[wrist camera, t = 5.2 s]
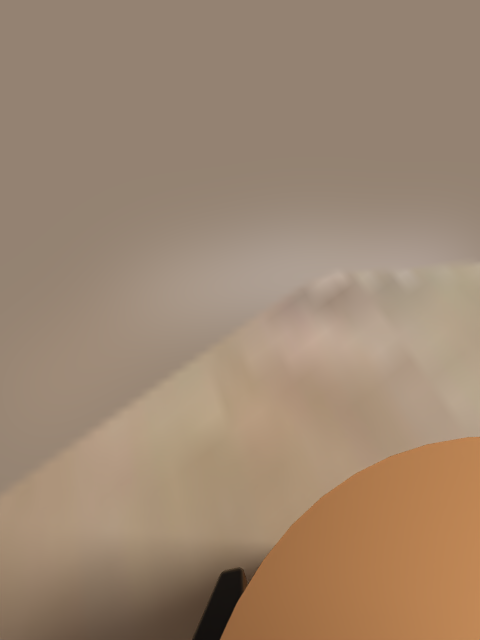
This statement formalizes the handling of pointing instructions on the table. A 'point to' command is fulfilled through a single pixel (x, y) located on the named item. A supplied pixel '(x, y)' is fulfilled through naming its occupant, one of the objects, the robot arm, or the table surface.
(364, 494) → the pin
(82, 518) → the table surface
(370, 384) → the table surface
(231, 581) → the robot arm
